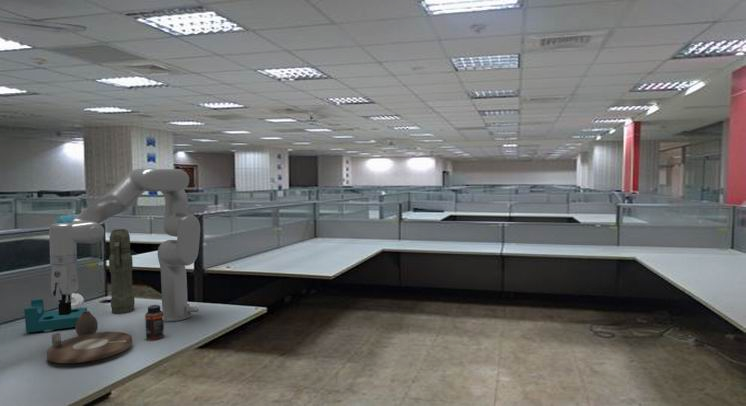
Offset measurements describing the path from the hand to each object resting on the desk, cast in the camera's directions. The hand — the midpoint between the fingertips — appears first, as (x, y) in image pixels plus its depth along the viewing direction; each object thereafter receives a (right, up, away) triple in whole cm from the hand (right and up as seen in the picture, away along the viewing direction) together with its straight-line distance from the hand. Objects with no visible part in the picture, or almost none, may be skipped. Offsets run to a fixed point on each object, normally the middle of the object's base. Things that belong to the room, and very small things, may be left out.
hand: (65, 314), depth 160 cm
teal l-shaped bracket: (-18, -11, +24) cm, 31 cm away
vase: (0, -11, +13) cm, 17 cm away
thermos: (-4, -9, +44) cm, 45 cm away
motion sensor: (-25, -9, +44) cm, 52 cm away
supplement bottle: (+26, -11, +10) cm, 30 cm away
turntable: (+11, -10, -4) cm, 16 cm away
